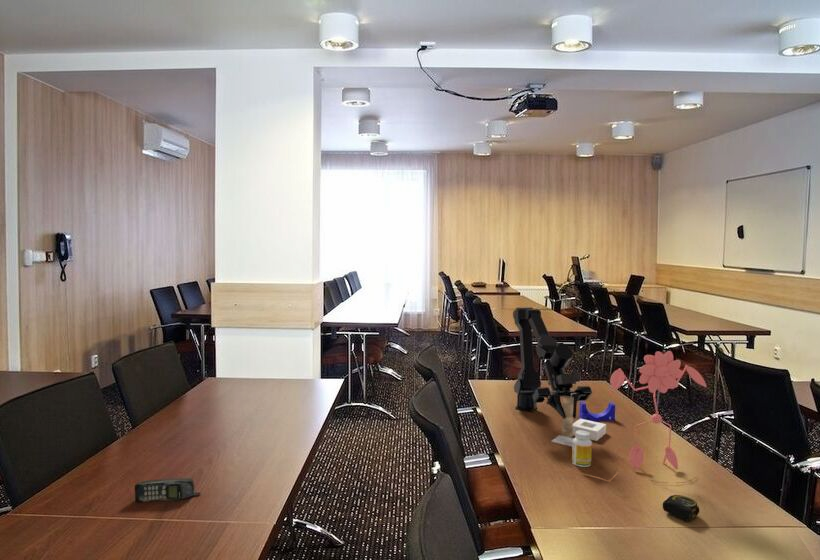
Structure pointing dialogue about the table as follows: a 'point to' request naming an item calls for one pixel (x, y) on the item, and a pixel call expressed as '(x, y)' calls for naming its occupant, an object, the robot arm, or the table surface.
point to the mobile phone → (164, 490)
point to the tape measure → (681, 507)
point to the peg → (568, 416)
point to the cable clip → (596, 417)
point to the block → (590, 428)
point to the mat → (563, 440)
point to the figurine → (658, 376)
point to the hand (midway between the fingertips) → (569, 417)
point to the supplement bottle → (582, 449)
